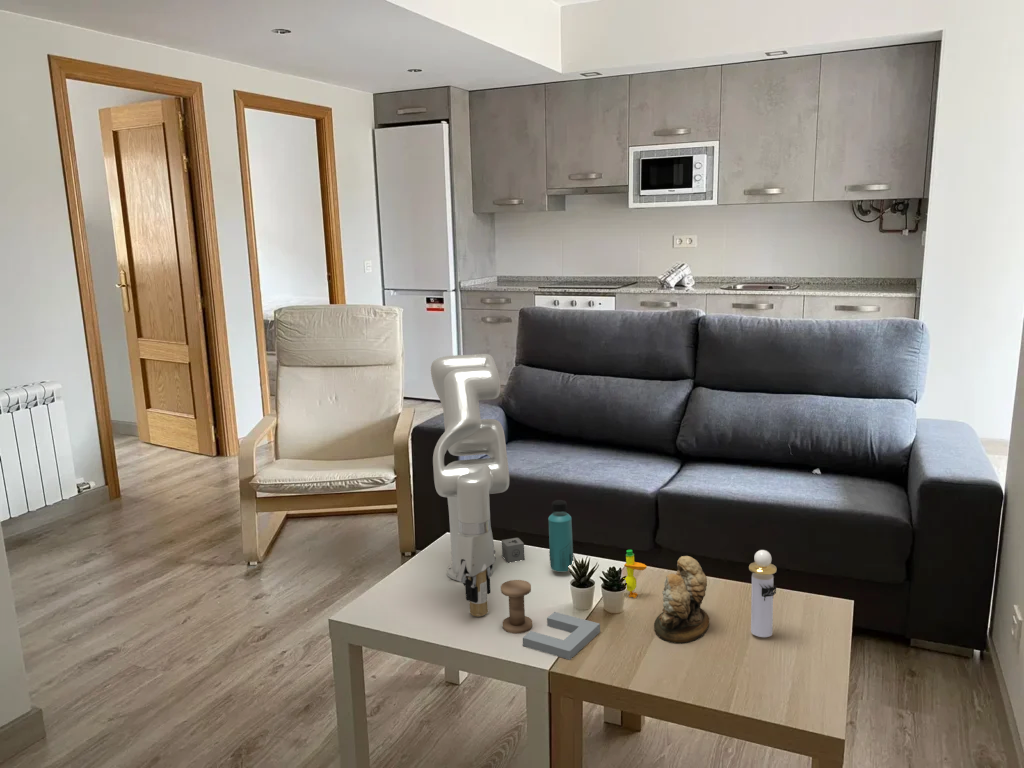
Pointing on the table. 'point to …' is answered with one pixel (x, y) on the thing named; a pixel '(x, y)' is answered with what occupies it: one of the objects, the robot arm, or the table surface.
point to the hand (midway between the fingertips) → (478, 596)
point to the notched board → (563, 647)
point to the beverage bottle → (560, 537)
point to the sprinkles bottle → (480, 594)
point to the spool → (516, 606)
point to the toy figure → (632, 572)
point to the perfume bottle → (762, 594)
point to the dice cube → (513, 550)
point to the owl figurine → (683, 604)
